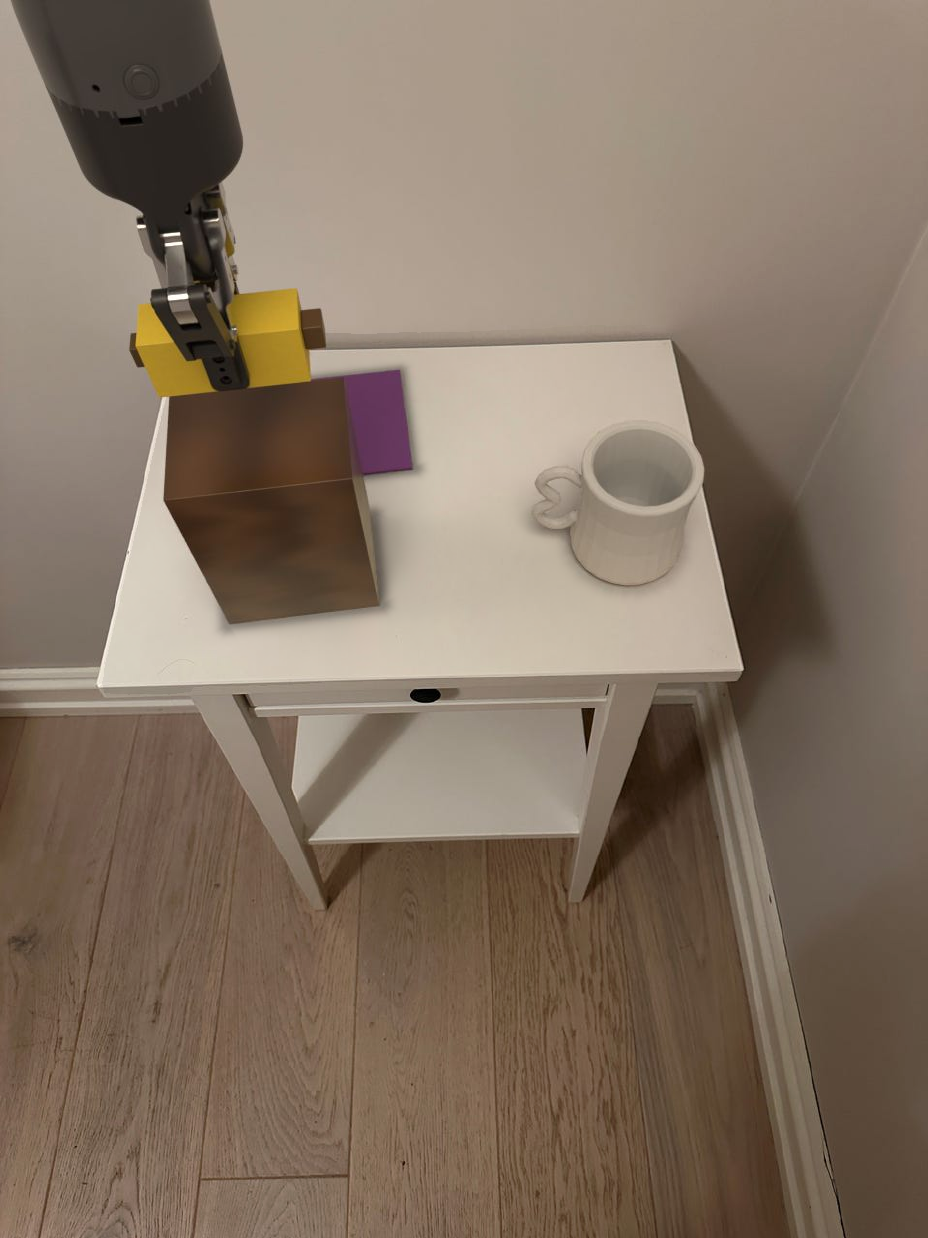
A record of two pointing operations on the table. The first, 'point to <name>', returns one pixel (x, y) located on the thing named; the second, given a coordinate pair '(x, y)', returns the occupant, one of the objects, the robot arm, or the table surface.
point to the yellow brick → (267, 339)
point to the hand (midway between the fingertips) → (232, 360)
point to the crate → (272, 499)
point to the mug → (628, 500)
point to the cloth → (379, 420)
